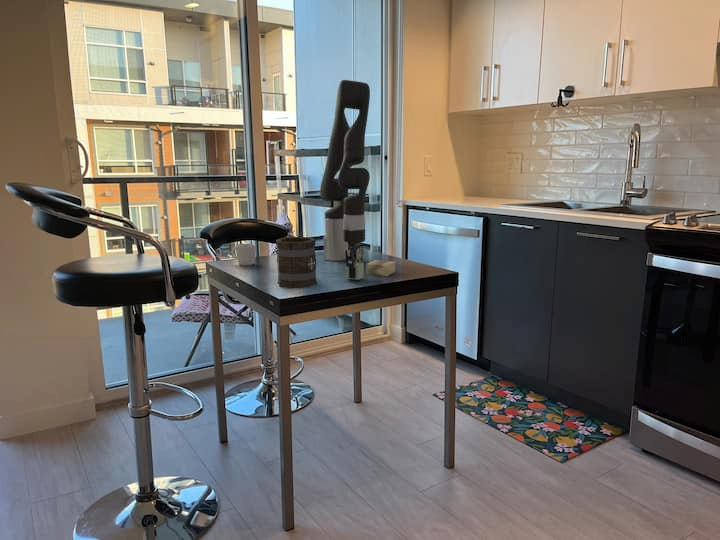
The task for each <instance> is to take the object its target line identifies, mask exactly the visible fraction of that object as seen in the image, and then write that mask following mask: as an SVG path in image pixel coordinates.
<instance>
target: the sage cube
mask: <svg viewBox="0 0 720 540" xmlns="http://www.w3.org/2000/svg"><path fill="white" fill-rule="evenodd" d="M351 263H352V261H351ZM344 265H345V279H346V280H361V279H362V278H364V274H365V273H364V261H361V262H356V267H355V268H356V277H355V278H349V267H347V266H346V263H345V264H344Z"/></svg>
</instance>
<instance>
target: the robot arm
mask: <svg viewBox="0 0 720 540" xmlns="http://www.w3.org/2000/svg"><path fill="white" fill-rule="evenodd" d="M336 93H337V94H336V101H335V111H334V118H333V125H332V128H331V134H330V138H329V144H328V150H327V156H326V157H327V158H326V163H325V167H324V171H323V175H322V179H321V182H320V187H319V189H320V190H319V195H320V198H321V200H322V201H324V202H337V203H336V204H335V206H333V207H332V208H328V209H326V210H325V212H324V230H325V231H324V235H325V236H323V260H327V261H332V262H333V261H334V262H335V261H336V262H337V261H339V262H341V261H345V264H346V266H347V267H349V278H355V277H356V268H355V267H356V262H363V257H364V255H363V253H364V244H363V243H364V242H365V241H366V216H365V204H366V203H365V199H366V195H367V190H368V187H369V182H370V178H371V175H370V172H369V171H368V169H367V168H365V167H353V166H357V165H361V164H362V163H363V162H365V152H366V151H365V146H366V145H365V140H366V139H365V138H366V129H367V123H368V117H369V116H368V115H369V109H370V98H371V88H370V86H369V84H368V83H366V82H363V81H362V82H361V81H356V80H350V79H349V80H348V79H342V80H341V81H340V82H339V84H338V88H337V92H336ZM346 109H350V110H356V111H358V116H357V117H356V119H355V121H353V124H352V125H351V126H350V125H349V123H348V119H347V117H346V113H345V110H346ZM337 174H338V175H337ZM336 175H337V178H336ZM349 190H358V193H357V194H354V195H349ZM351 262H352V263H351Z"/></svg>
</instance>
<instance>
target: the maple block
mask: <svg viewBox="0 0 720 540" xmlns="http://www.w3.org/2000/svg"><path fill="white" fill-rule="evenodd" d="M365 265H366V267H365V268H366V269H365V271H366V275H373V276H374V275H375V276H385V277H388V276H390V275H392V274H393V273H395V272H396V261H391V260H380V259H374V260H372V261H370V262H368V263H366V264H365Z"/></svg>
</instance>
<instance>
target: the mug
mask: <svg viewBox="0 0 720 540" xmlns="http://www.w3.org/2000/svg"><path fill="white" fill-rule="evenodd" d="M275 241H276V243H275V244H276V251H277V256H276V263H277V264H276V265H277V275H278V276H277V278H278V279H277V285H278V284H279V285H278V286H279V288H285V289H304V288H305V289H306V287H307V288H311V287H313V286H316V285H317V284H318V283H317V272H316V271H317V257H316V241H317V240H316V239H315V238H314V237H309V236H308V237H307V236H291V237H290V236H288V237H287V236H286V237H282V238H278V239H275ZM310 286H311V287H310Z"/></svg>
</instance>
